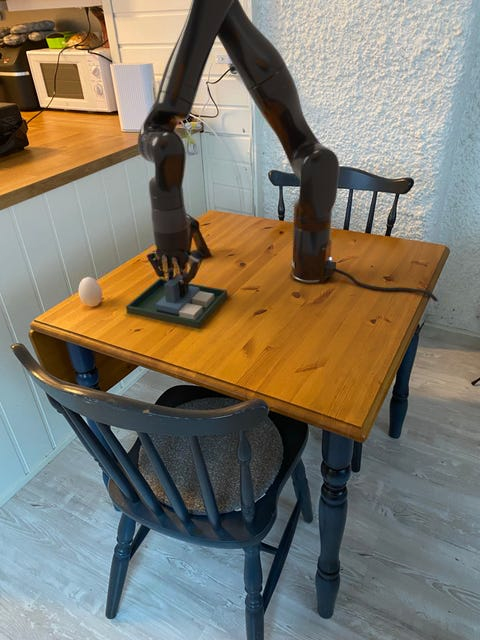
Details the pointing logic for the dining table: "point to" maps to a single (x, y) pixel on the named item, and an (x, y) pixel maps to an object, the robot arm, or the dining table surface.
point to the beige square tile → (203, 299)
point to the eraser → (175, 297)
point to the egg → (90, 292)
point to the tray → (147, 308)
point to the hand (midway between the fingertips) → (178, 293)
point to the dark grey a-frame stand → (197, 239)
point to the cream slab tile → (191, 311)
